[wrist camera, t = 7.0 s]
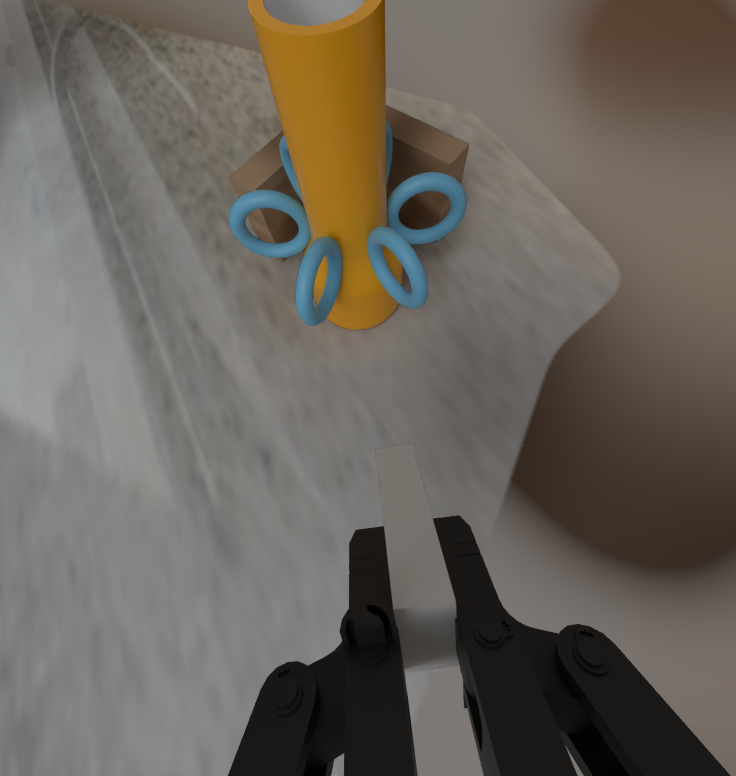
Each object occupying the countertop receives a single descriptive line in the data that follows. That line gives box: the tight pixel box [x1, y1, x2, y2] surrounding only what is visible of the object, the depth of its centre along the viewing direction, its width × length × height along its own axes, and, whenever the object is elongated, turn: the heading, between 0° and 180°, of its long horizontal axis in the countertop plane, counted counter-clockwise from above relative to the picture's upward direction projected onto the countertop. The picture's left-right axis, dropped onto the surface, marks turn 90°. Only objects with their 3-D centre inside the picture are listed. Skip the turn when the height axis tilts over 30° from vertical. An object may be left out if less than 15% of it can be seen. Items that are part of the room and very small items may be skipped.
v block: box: [229, 105, 469, 262], centre depth 24 cm, size 9×14×6 cm, turn 97°
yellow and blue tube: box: [229, 0, 467, 330], centre depth 17 cm, size 12×10×15 cm
